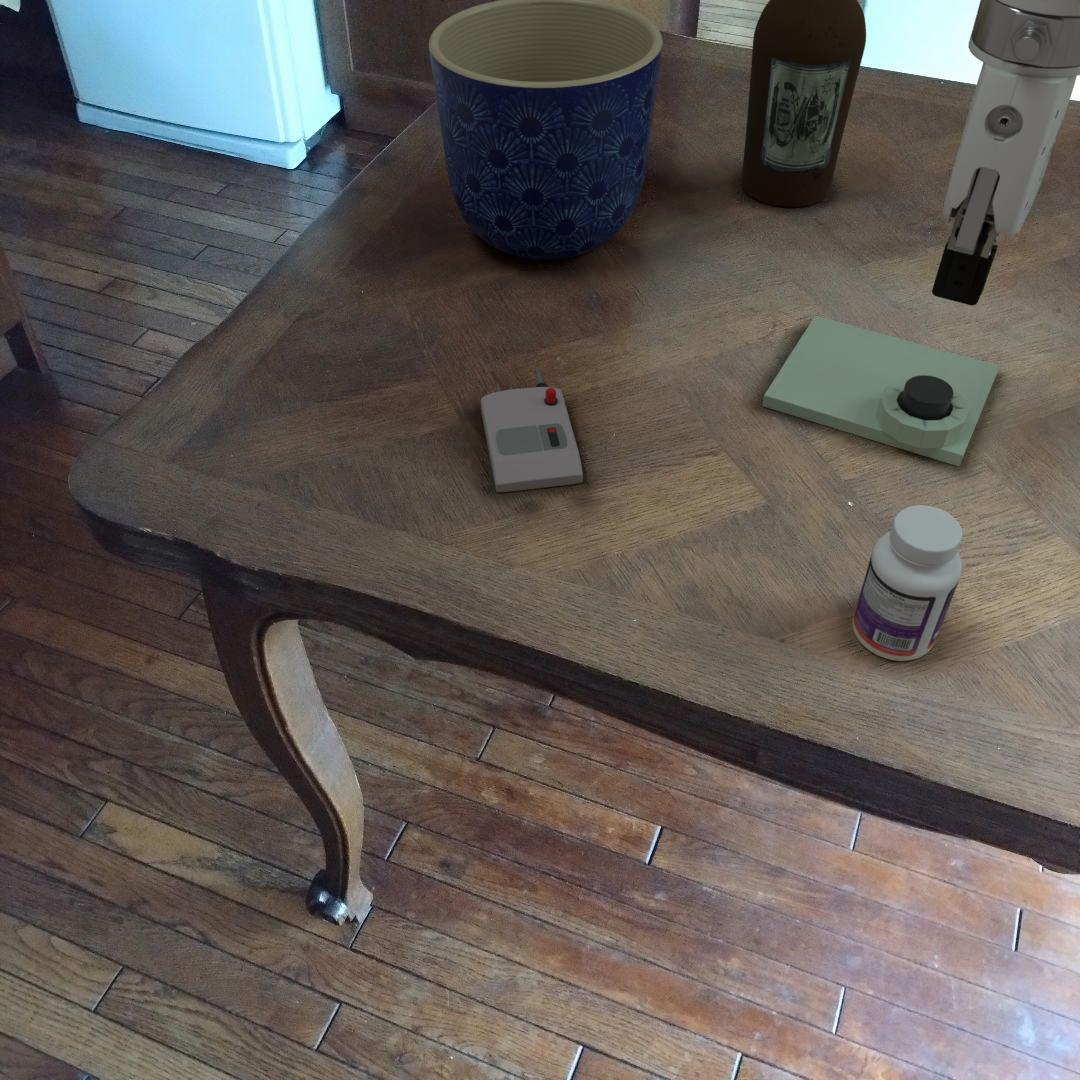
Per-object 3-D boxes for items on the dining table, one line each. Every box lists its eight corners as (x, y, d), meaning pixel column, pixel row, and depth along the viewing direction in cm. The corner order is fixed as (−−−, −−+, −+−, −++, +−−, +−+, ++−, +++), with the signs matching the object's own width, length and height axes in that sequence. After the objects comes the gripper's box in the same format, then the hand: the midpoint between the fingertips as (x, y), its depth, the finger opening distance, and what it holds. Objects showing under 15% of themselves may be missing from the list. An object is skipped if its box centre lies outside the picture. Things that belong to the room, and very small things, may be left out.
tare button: (952, 401, 83) (958, 383, 82) (941, 427, 81) (947, 409, 80) (906, 388, 84) (912, 370, 83) (894, 413, 82) (899, 395, 81)
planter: (667, 196, 112) (682, 5, 98) (624, 301, 98) (635, 96, 84) (481, 173, 116) (471, -14, 102) (415, 271, 102) (393, 70, 89)
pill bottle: (898, 590, 73) (934, 486, 66) (952, 645, 69) (995, 541, 62) (833, 617, 71) (863, 513, 64) (885, 675, 68) (923, 571, 61)
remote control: (499, 510, 79) (497, 480, 77) (475, 383, 90) (473, 354, 87) (587, 499, 79) (588, 469, 77) (553, 375, 90) (552, 346, 88)
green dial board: (995, 376, 89) (1006, 347, 87) (956, 473, 81) (967, 443, 79) (812, 326, 95) (818, 297, 93) (758, 411, 87) (763, 382, 84)
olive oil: (734, 161, 117) (765, -93, 99) (831, 165, 116) (881, -91, 98) (736, 209, 110) (770, -57, 92) (840, 213, 109) (895, -54, 91)
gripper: (1087, 87, 57) (985, 366, 70) (1127, -4, 66) (1031, 259, 79) (945, 60, 59) (873, 335, 72) (1003, -23, 68) (930, 234, 81)
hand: (956, 294), depth 76 cm, fingers closed
